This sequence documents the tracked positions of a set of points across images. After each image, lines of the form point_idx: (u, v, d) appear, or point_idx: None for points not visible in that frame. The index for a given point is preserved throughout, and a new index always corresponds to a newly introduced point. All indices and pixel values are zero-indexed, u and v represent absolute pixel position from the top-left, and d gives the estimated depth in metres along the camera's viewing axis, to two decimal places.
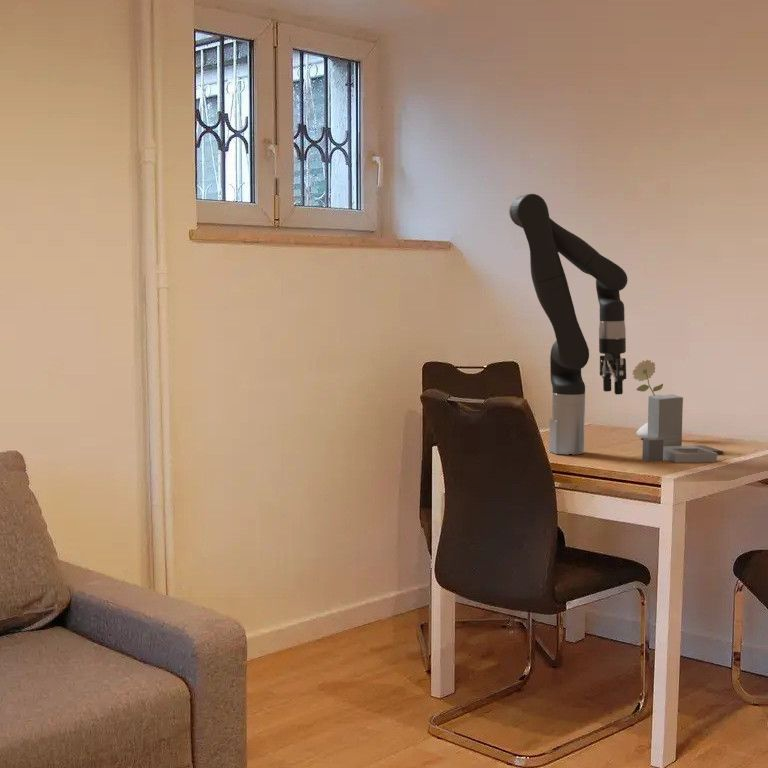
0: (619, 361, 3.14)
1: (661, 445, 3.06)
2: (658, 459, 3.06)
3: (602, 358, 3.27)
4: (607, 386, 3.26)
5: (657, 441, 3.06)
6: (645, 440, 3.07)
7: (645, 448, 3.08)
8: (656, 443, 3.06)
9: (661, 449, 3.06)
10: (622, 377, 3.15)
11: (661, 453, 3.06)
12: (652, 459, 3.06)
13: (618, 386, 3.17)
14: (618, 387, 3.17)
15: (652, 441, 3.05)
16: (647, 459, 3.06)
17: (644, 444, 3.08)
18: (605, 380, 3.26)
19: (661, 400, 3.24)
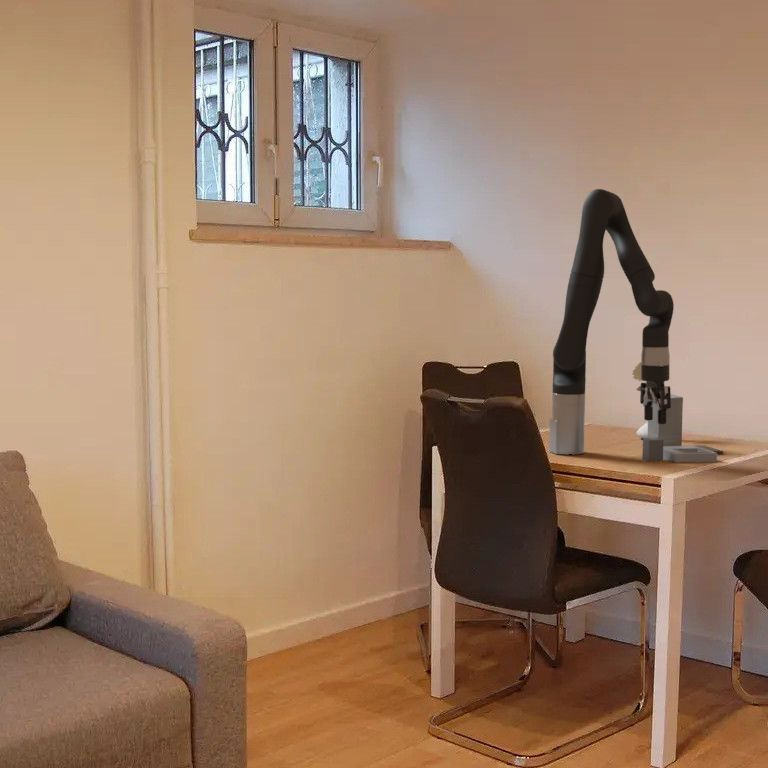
0: (663, 389, 3.00)
1: (661, 445, 3.06)
2: (658, 459, 3.06)
3: (643, 385, 3.12)
4: (648, 415, 3.11)
5: (657, 441, 3.06)
6: (645, 440, 3.07)
7: (645, 448, 3.08)
8: (656, 443, 3.06)
9: (661, 449, 3.06)
10: (666, 406, 3.00)
11: (661, 453, 3.06)
12: (652, 459, 3.06)
13: (662, 415, 3.02)
14: (662, 416, 3.02)
15: (652, 441, 3.05)
16: (647, 459, 3.06)
17: (644, 444, 3.08)
18: (646, 408, 3.11)
19: None
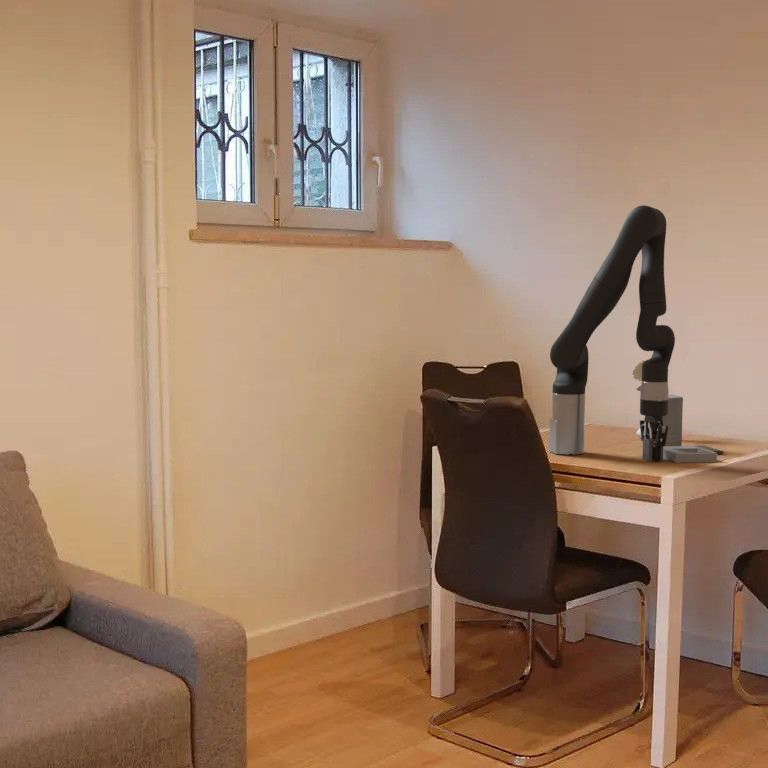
0: (661, 429, 3.01)
1: None
2: None
3: (642, 422, 3.12)
4: None
5: None
6: (645, 440, 3.07)
7: (645, 448, 3.08)
8: None
9: (661, 449, 3.06)
10: (661, 444, 3.03)
11: (661, 453, 3.06)
12: None
13: (656, 453, 3.04)
14: (656, 454, 3.04)
15: None
16: (647, 459, 3.06)
17: (644, 444, 3.08)
18: None
19: None
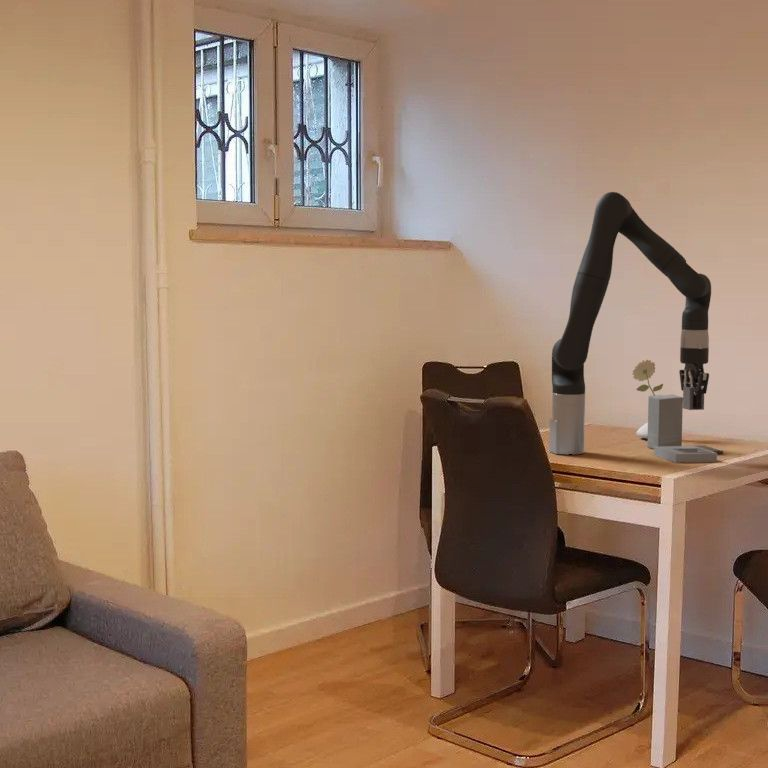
0: (702, 377, 3.01)
1: None
2: None
3: (682, 372, 3.13)
4: None
5: None
6: (686, 388, 3.08)
7: (686, 396, 3.08)
8: None
9: (702, 397, 3.07)
10: (702, 391, 3.03)
11: (702, 401, 3.07)
12: None
13: (697, 400, 3.05)
14: (697, 401, 3.05)
15: None
16: (688, 407, 3.07)
17: (685, 392, 3.09)
18: None
19: (661, 400, 3.24)
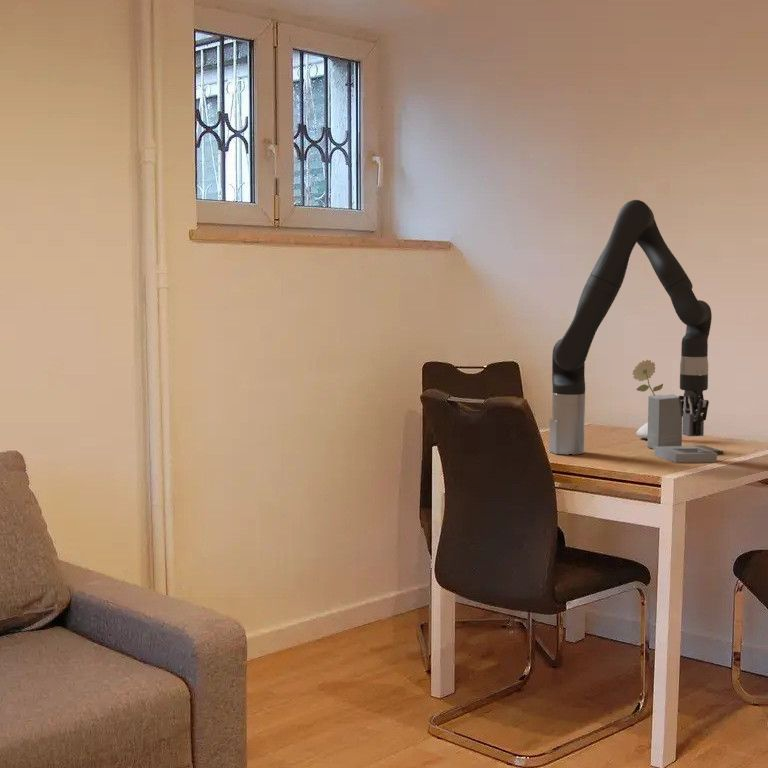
0: (702, 404, 3.02)
1: None
2: None
3: (681, 398, 3.14)
4: None
5: None
6: (685, 415, 3.09)
7: (685, 423, 3.09)
8: None
9: (701, 423, 3.08)
10: (702, 418, 3.04)
11: (701, 427, 3.08)
12: None
13: (697, 427, 3.06)
14: (697, 428, 3.06)
15: None
16: (688, 433, 3.08)
17: (684, 419, 3.10)
18: None
19: (661, 400, 3.24)
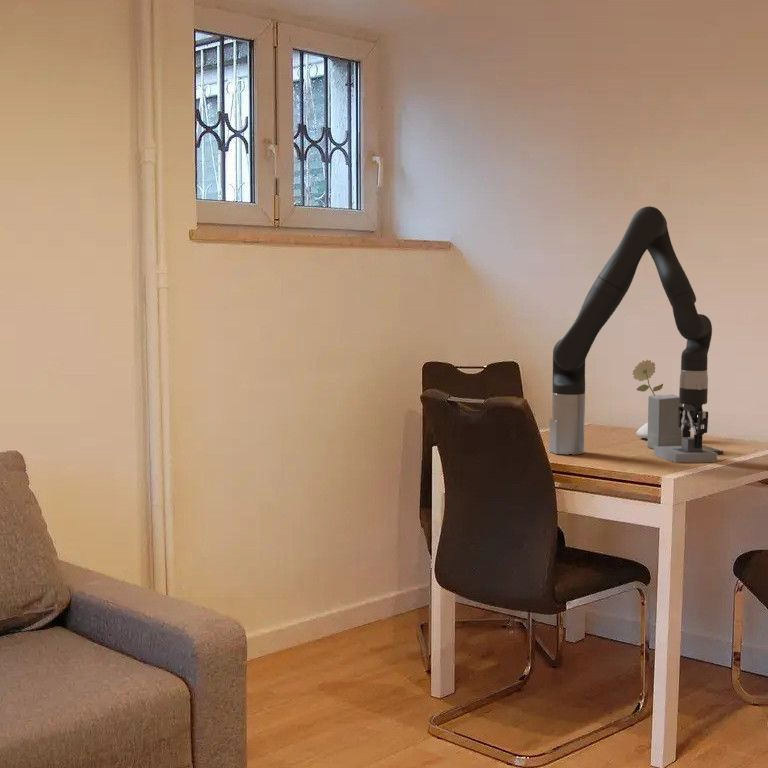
0: (701, 415, 3.02)
1: None
2: None
3: (681, 409, 3.14)
4: None
5: None
6: (684, 439, 3.10)
7: (684, 447, 3.10)
8: None
9: (700, 448, 3.08)
10: (703, 431, 3.03)
11: None
12: None
13: (698, 440, 3.05)
14: (698, 441, 3.05)
15: (691, 440, 3.08)
16: None
17: (683, 443, 3.10)
18: (684, 432, 3.13)
19: (661, 400, 3.24)
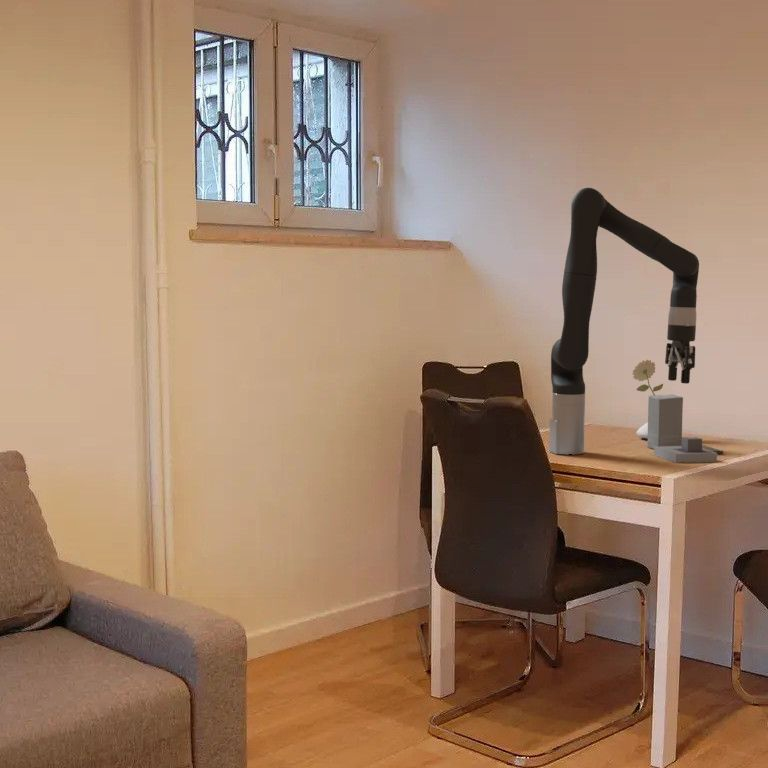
0: (688, 349, 3.03)
1: (700, 444, 3.08)
2: None
3: (669, 346, 3.16)
4: (672, 375, 3.15)
5: (696, 440, 3.08)
6: (684, 439, 3.10)
7: (684, 447, 3.10)
8: (695, 442, 3.08)
9: (700, 448, 3.08)
10: (690, 365, 3.04)
11: None
12: None
13: (685, 375, 3.06)
14: (685, 376, 3.06)
15: (691, 440, 3.08)
16: None
17: (683, 443, 3.10)
18: (671, 369, 3.14)
19: (661, 400, 3.24)
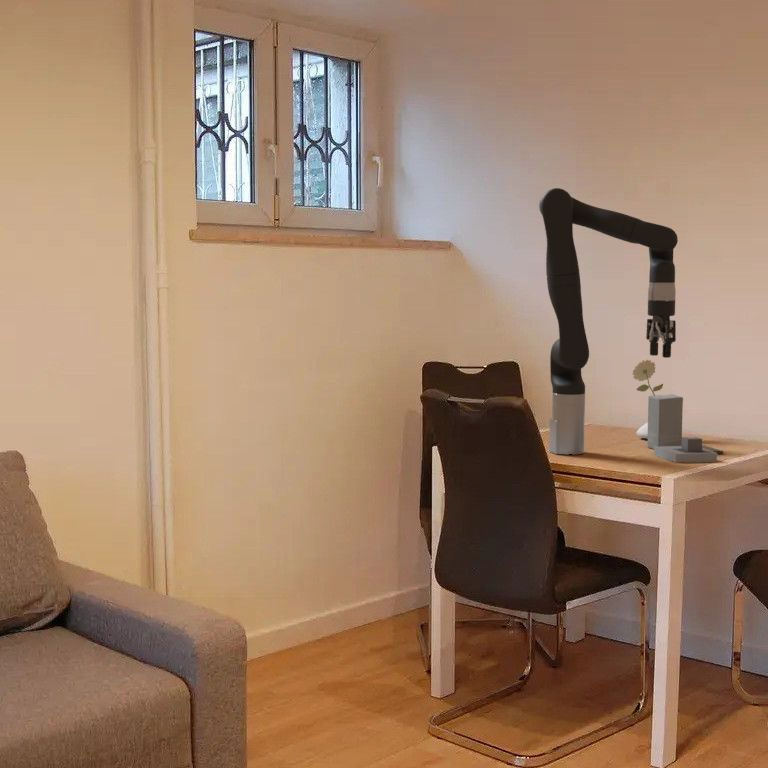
0: (669, 323, 3.08)
1: (700, 444, 3.08)
2: None
3: (649, 321, 3.20)
4: (654, 350, 3.19)
5: (696, 440, 3.08)
6: (684, 439, 3.10)
7: (684, 447, 3.10)
8: (695, 442, 3.08)
9: (700, 448, 3.08)
10: (671, 339, 3.08)
11: None
12: None
13: (666, 349, 3.10)
14: (666, 350, 3.10)
15: (691, 440, 3.08)
16: None
17: (683, 443, 3.10)
18: (652, 344, 3.19)
19: (661, 400, 3.24)
